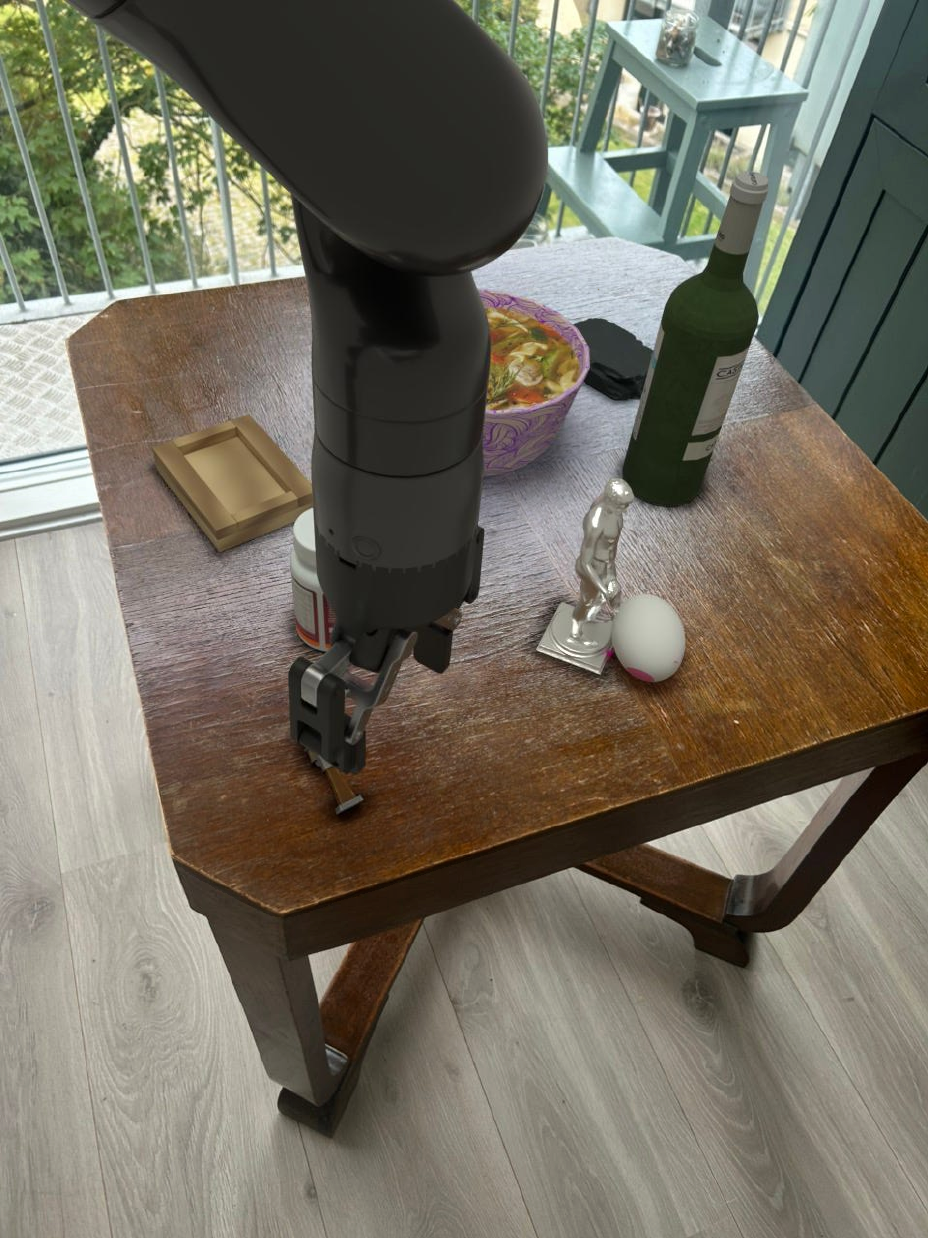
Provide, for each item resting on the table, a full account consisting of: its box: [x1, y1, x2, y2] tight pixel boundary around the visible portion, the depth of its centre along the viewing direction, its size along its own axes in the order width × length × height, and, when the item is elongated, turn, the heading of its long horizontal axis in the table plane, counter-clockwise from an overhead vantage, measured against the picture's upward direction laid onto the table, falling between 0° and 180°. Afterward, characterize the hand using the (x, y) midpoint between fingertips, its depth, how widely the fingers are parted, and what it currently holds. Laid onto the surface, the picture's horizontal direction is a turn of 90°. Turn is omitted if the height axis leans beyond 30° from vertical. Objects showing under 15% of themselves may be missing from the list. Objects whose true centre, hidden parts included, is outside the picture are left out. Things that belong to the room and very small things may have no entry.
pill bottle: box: [289, 508, 335, 653], centre depth 75 cm, size 6×6×11 cm
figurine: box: [535, 477, 635, 676], centre depth 73 cm, size 8×7×18 cm
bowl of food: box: [477, 288, 590, 477], centre depth 92 cm, size 20×20×12 cm
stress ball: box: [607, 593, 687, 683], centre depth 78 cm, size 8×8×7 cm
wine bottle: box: [621, 170, 770, 507], centre depth 83 cm, size 8×8×30 cm
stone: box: [572, 317, 654, 401], centre depth 105 cm, size 8×12×3 cm
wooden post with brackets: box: [303, 747, 364, 815], centre depth 69 cm, size 2×8×4 cm, turn 33°
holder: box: [151, 413, 313, 553], centre depth 88 cm, size 10×13×3 cm
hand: (390, 711), depth 55 cm, fingers open, 8 cm apart
